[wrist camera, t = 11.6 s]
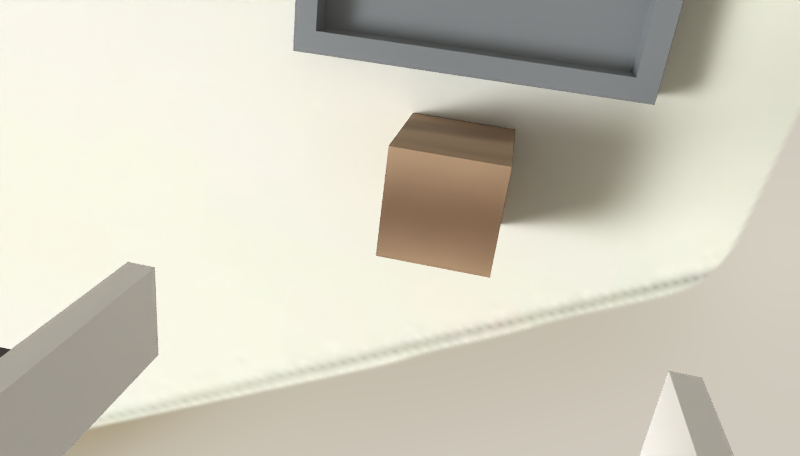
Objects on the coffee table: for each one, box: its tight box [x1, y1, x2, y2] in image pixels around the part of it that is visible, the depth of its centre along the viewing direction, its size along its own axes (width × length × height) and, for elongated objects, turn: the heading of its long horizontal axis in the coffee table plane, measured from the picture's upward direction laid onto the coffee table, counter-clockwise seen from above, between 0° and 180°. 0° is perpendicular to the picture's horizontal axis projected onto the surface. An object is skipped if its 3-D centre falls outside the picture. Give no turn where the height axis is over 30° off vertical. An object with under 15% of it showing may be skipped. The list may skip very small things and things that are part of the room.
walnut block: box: [376, 113, 515, 277], centre depth 30 cm, size 5×5×6 cm
